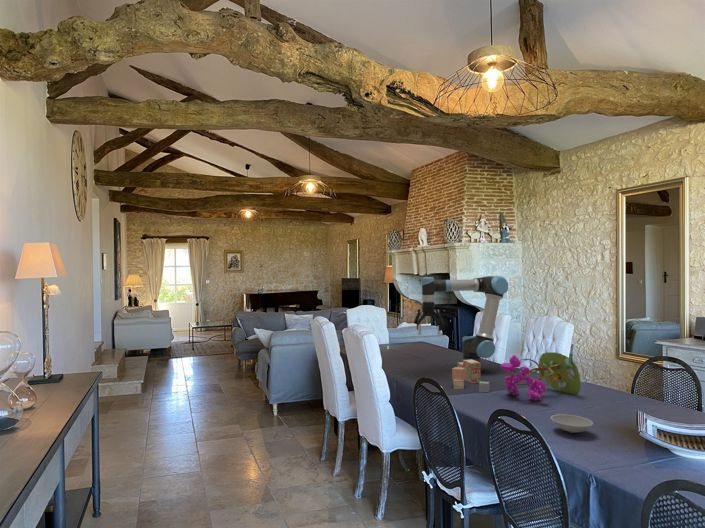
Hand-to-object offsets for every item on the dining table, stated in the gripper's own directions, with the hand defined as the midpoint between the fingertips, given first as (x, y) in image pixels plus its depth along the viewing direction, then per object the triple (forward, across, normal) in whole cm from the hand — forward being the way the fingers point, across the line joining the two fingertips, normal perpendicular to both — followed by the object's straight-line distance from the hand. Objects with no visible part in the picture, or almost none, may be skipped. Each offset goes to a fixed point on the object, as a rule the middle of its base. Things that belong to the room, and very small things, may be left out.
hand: (429, 335), depth 317 cm
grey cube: (+27, +42, -18) cm, 53 cm away
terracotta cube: (+22, +26, -15) cm, 37 cm away
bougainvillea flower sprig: (+27, +70, -15) cm, 77 cm away
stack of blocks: (+27, +23, +7) cm, 36 cm away
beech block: (+27, +26, -15) cm, 40 cm away
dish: (+27, +98, -70) cm, 123 cm away
